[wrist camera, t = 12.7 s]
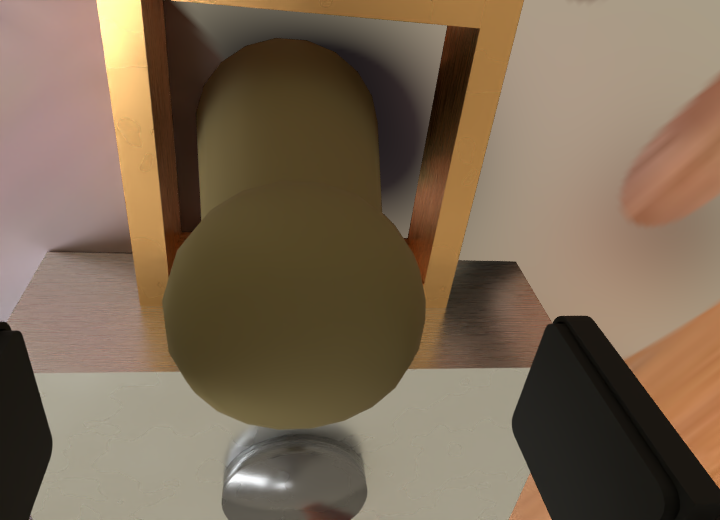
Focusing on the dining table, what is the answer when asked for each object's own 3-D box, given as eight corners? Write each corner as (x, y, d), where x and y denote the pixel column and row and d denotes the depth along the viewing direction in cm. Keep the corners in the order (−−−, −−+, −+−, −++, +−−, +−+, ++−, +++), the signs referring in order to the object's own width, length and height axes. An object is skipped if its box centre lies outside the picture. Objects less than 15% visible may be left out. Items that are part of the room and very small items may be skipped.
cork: (166, 162, 19) (71, 427, 10) (247, -3, 17) (214, 159, 8) (320, 234, 22) (352, 499, 13) (412, 99, 19) (534, 314, 10)
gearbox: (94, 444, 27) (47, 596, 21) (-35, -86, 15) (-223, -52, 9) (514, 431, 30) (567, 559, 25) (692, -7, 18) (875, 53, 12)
